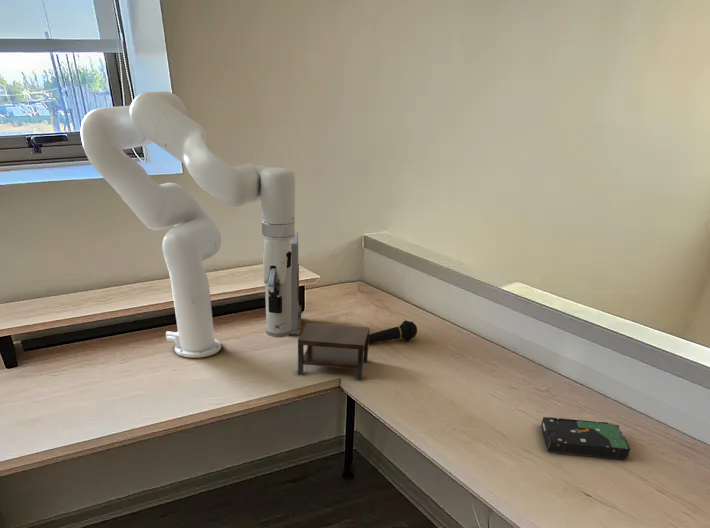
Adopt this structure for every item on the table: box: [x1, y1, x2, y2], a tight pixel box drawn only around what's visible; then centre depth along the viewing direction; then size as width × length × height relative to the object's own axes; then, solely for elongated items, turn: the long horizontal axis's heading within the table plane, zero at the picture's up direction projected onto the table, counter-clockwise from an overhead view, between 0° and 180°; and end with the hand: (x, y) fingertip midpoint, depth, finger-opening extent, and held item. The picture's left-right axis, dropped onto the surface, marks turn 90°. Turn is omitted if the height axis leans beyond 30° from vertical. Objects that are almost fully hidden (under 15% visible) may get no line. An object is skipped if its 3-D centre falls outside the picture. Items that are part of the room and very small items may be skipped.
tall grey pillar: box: [290, 231, 302, 336], centre depth 159 cm, size 14×6×25 cm, turn 179°
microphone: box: [368, 320, 418, 345], centre depth 155 cm, size 6×6×20 cm
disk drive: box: [540, 416, 632, 460], centre depth 112 cm, size 10×3×15 cm
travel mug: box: [264, 251, 292, 338], centre depth 135 cm, size 6×7×20 cm
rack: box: [297, 322, 370, 381], centre depth 140 cm, size 16×12×9 cm
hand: (279, 307), depth 137 cm, fingers closed on travel mug, 6 cm apart
